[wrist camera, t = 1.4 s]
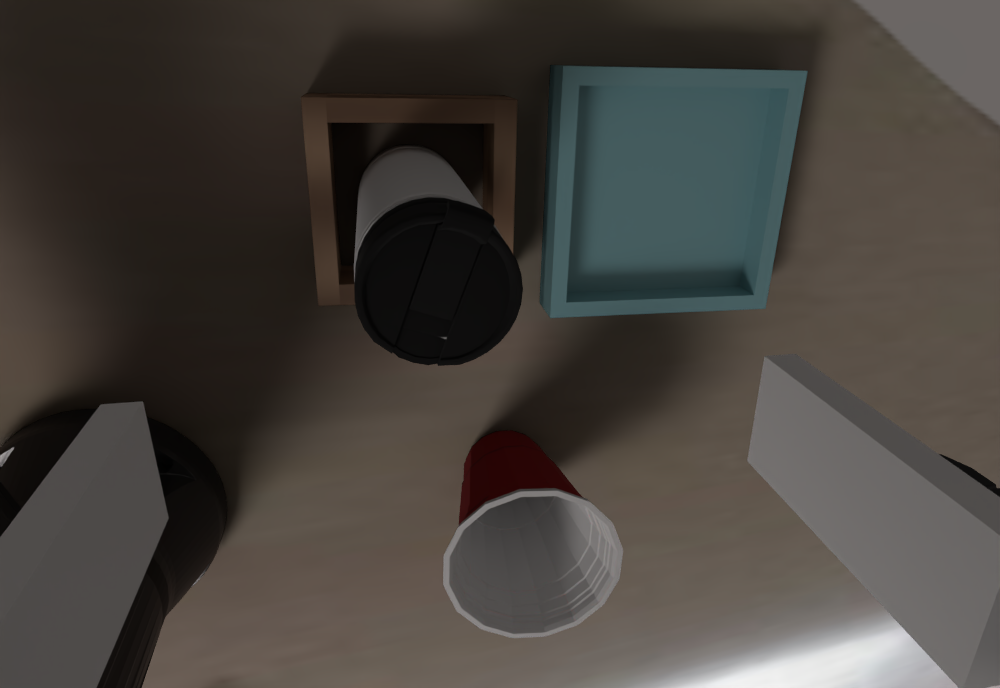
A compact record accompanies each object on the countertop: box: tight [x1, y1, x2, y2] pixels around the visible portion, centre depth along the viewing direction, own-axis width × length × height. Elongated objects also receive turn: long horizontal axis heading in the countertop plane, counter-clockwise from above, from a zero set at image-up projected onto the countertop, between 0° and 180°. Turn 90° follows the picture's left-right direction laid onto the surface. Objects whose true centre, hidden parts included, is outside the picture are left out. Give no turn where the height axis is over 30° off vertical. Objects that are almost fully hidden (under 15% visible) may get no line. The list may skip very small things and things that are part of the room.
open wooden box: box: [301, 93, 518, 306], centre depth 41 cm, size 12×12×4 cm
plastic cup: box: [443, 430, 623, 638], centre depth 46 cm, size 11×11×12 cm
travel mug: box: [354, 144, 523, 366], centre depth 34 cm, size 6×7×20 cm
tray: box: [540, 65, 808, 318], centre depth 44 cm, size 15×15×3 cm
